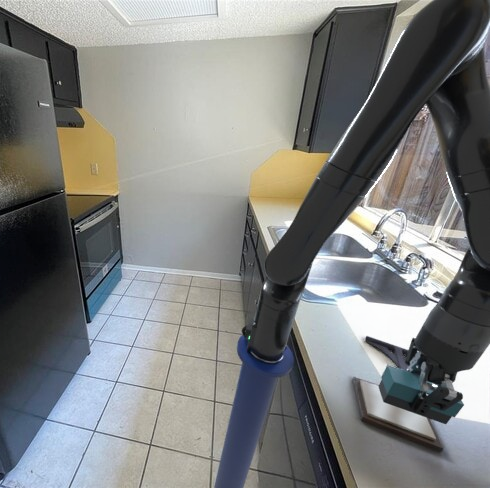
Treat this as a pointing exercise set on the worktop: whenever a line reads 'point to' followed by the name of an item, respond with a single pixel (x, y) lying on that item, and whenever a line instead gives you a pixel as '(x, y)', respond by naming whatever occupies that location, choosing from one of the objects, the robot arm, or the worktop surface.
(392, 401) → the teal angular block
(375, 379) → the worktop surface
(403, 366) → the bracket
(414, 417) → the board
